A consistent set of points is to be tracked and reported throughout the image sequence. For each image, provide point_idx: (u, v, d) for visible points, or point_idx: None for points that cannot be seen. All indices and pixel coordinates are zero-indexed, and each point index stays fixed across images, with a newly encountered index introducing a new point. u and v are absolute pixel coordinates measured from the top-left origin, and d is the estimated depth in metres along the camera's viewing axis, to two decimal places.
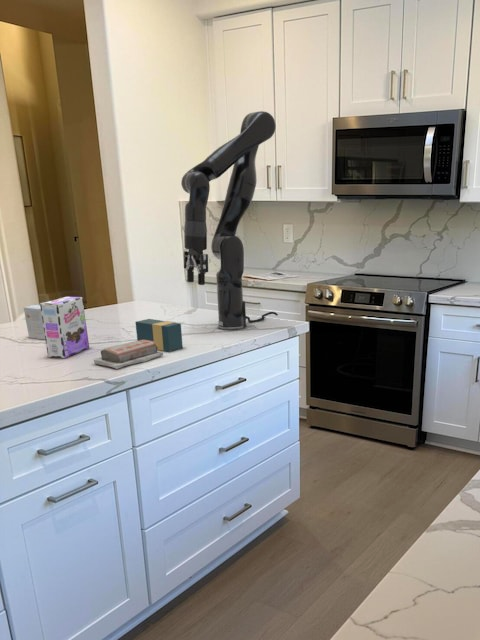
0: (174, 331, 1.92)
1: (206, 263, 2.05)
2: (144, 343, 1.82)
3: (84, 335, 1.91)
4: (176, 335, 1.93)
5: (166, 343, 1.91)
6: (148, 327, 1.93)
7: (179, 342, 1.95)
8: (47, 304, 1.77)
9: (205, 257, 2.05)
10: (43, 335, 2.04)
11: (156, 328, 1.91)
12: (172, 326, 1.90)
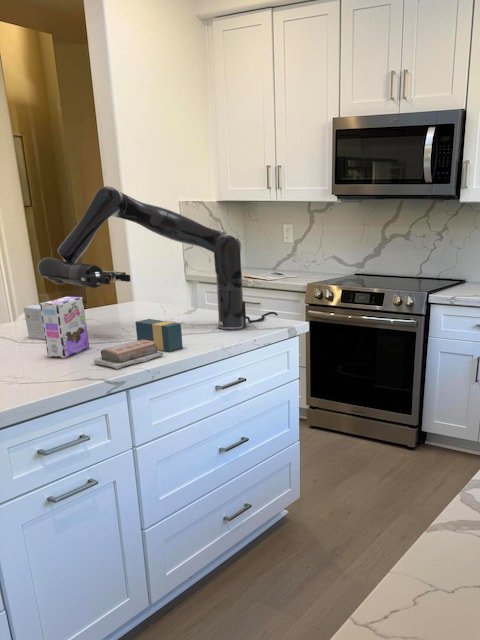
0: (174, 331, 1.92)
1: (86, 278, 1.94)
2: (144, 343, 1.82)
3: (84, 335, 1.91)
4: (176, 335, 1.93)
5: (166, 343, 1.91)
6: (148, 327, 1.93)
7: (179, 342, 1.95)
8: (47, 304, 1.77)
9: (82, 278, 1.96)
10: (43, 335, 2.04)
11: (156, 328, 1.91)
12: (172, 326, 1.90)
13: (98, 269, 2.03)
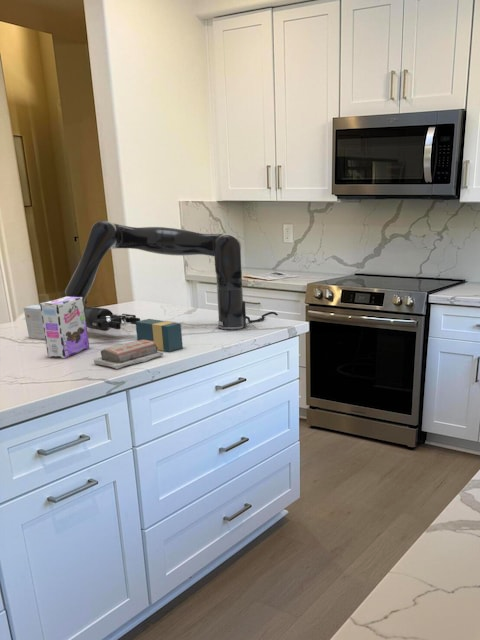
0: (174, 331, 1.92)
1: (97, 323, 1.99)
2: (144, 343, 1.82)
3: (84, 335, 1.91)
4: (176, 335, 1.93)
5: (166, 343, 1.91)
6: (148, 327, 1.93)
7: (179, 342, 1.95)
8: (47, 304, 1.77)
9: (93, 323, 2.00)
10: (43, 335, 2.04)
11: (156, 328, 1.91)
12: (172, 326, 1.90)
13: (109, 312, 2.07)
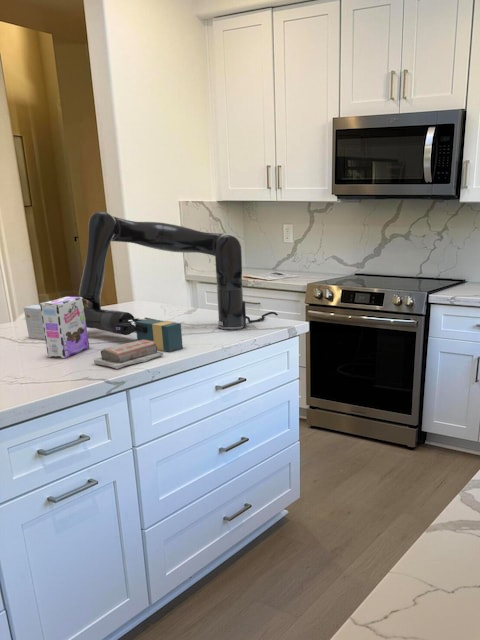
0: (174, 331, 1.92)
1: (122, 327, 1.94)
2: (144, 343, 1.82)
3: (84, 335, 1.91)
4: (176, 335, 1.93)
5: (166, 343, 1.91)
6: (148, 327, 1.93)
7: (179, 342, 1.94)
8: (47, 304, 1.77)
9: (117, 327, 1.95)
10: (43, 335, 2.04)
11: (156, 328, 1.91)
12: (172, 326, 1.90)
13: (130, 316, 2.02)
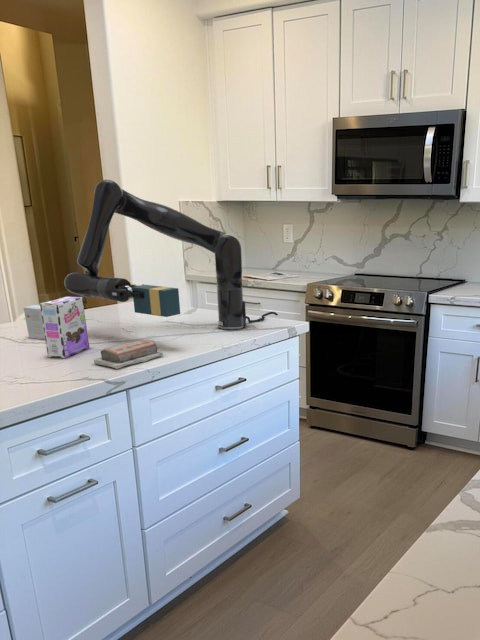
0: (171, 296, 1.87)
1: (118, 292, 1.90)
2: (144, 343, 1.82)
3: (84, 335, 1.91)
4: (174, 300, 1.89)
5: (164, 308, 1.87)
6: (145, 292, 1.89)
7: (177, 307, 1.90)
8: (47, 304, 1.77)
9: (113, 293, 1.91)
10: (43, 335, 2.04)
11: (153, 293, 1.87)
12: (169, 290, 1.86)
13: (127, 283, 1.98)
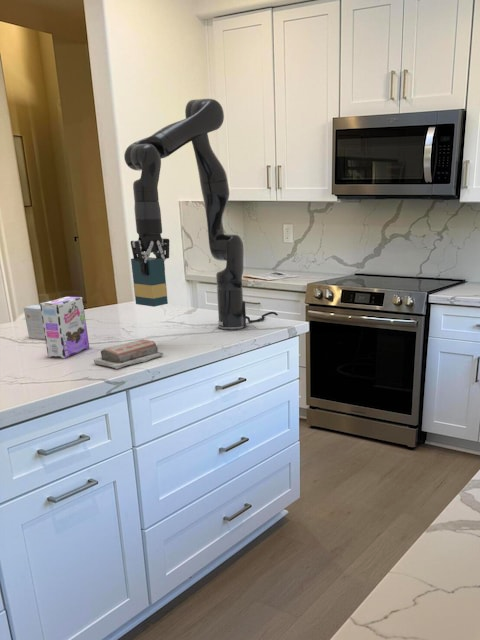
0: None
1: (136, 251, 1.81)
2: (144, 343, 1.82)
3: (84, 335, 1.91)
4: None
5: (141, 302, 1.91)
6: (148, 279, 1.86)
7: None
8: (47, 304, 1.77)
9: (134, 245, 1.80)
10: (43, 335, 2.04)
11: (149, 291, 1.88)
12: (158, 305, 1.91)
13: (158, 233, 1.84)
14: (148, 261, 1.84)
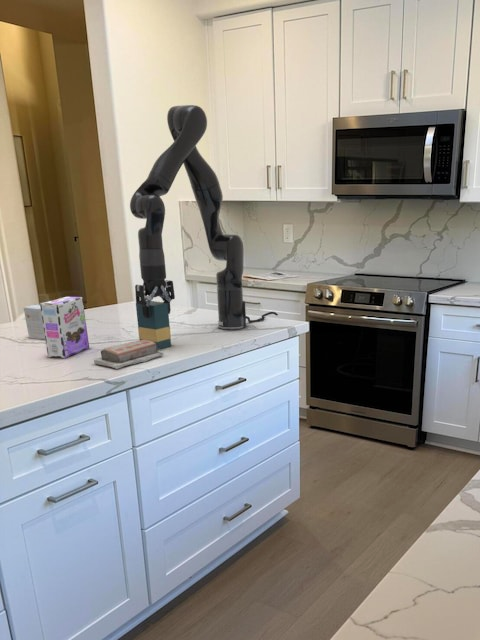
0: None
1: (139, 295, 1.85)
2: (144, 343, 1.82)
3: (84, 335, 1.91)
4: None
5: None
6: (152, 323, 1.91)
7: None
8: (47, 304, 1.77)
9: (138, 288, 1.84)
10: (43, 335, 2.04)
11: (153, 334, 1.93)
12: None
13: (162, 279, 1.89)
14: (153, 306, 1.89)
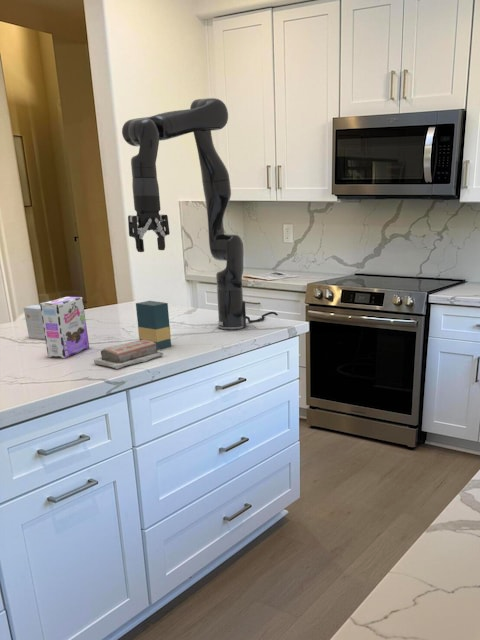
0: None
1: (132, 226, 1.77)
2: (144, 343, 1.82)
3: (84, 335, 1.91)
4: None
5: None
6: (152, 323, 1.91)
7: None
8: (47, 304, 1.77)
9: (131, 219, 1.77)
10: (43, 335, 2.04)
11: (153, 334, 1.93)
12: None
13: (156, 211, 1.82)
14: (152, 306, 1.89)
